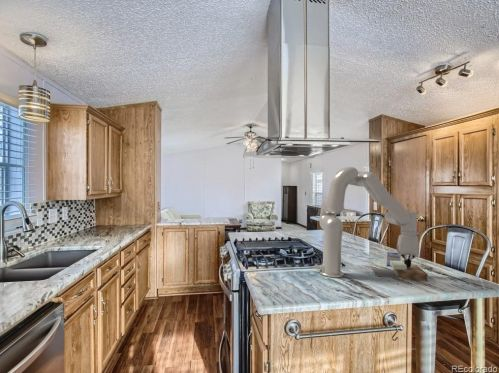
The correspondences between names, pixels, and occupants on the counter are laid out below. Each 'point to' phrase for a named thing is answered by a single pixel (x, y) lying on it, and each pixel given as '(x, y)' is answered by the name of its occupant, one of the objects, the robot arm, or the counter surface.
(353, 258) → the counter surface
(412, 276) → the brown curved piece
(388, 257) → the medicine box
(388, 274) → the mat
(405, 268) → the card
